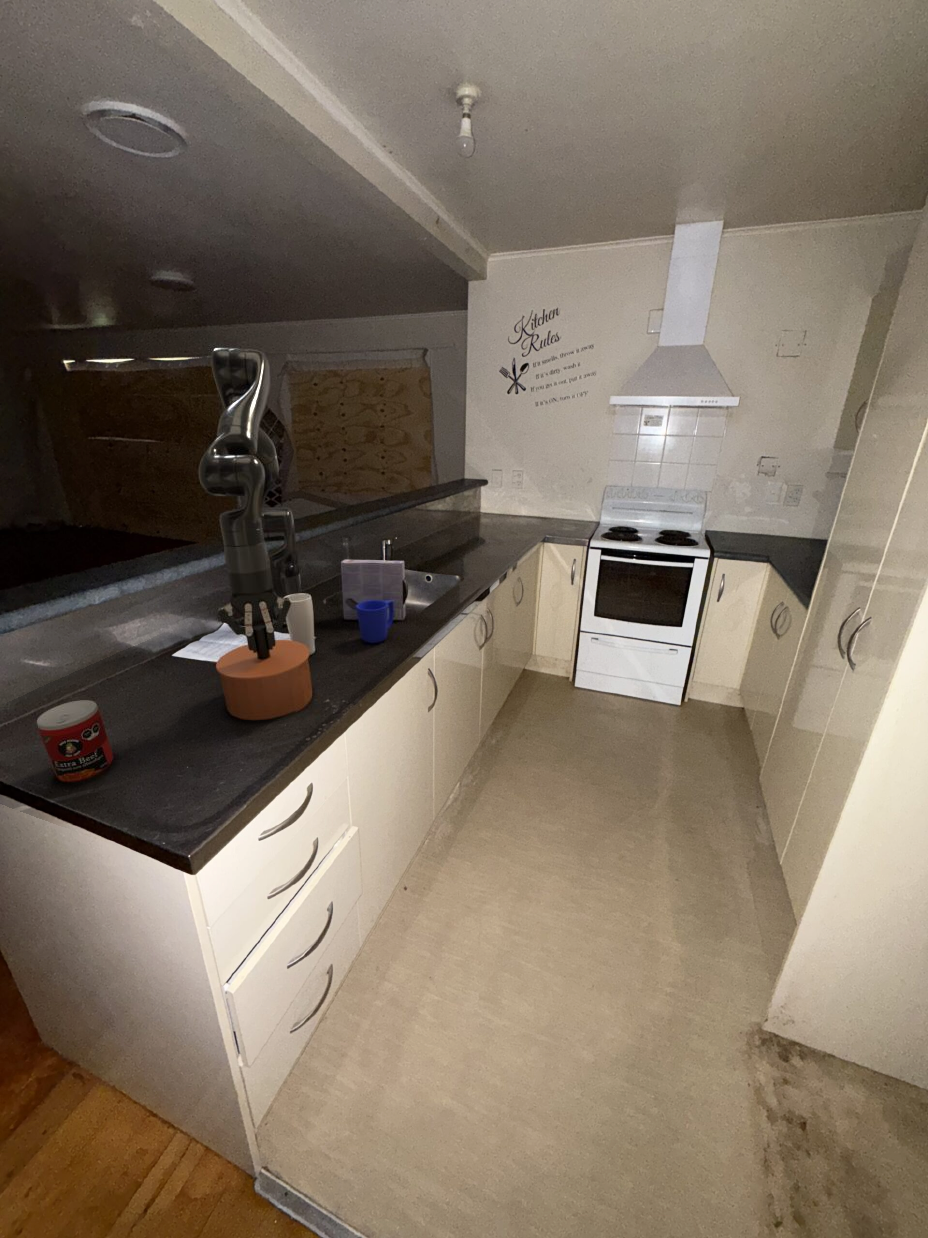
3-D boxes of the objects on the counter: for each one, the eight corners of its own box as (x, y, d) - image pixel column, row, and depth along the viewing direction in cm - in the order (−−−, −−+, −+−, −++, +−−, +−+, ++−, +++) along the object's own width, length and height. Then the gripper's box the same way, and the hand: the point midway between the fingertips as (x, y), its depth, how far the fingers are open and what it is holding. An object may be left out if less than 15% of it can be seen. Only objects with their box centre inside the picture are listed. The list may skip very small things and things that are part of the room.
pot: (226, 691, 105) (218, 651, 102) (305, 675, 112) (300, 637, 108) (229, 730, 91) (219, 686, 88) (318, 709, 98) (313, 667, 94)
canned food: (52, 791, 76) (29, 731, 72) (63, 762, 82) (43, 706, 78) (111, 776, 79) (92, 718, 75) (117, 749, 86) (100, 695, 82)
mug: (405, 633, 135) (403, 599, 132) (375, 648, 126) (372, 612, 122) (382, 627, 139) (380, 594, 136) (352, 641, 130) (349, 606, 126)
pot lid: (216, 653, 102) (209, 620, 99) (302, 638, 109) (298, 607, 107) (217, 691, 87) (209, 652, 85) (317, 670, 95) (312, 635, 92)
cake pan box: (409, 615, 149) (407, 558, 142) (407, 621, 144) (404, 563, 138) (347, 614, 149) (342, 558, 143) (343, 620, 144) (337, 562, 138)
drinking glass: (322, 648, 126) (315, 593, 121) (312, 659, 120) (304, 602, 114) (297, 647, 127) (289, 592, 121) (286, 658, 120) (277, 601, 115)
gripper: (284, 557, 97) (295, 637, 103) (207, 566, 91) (224, 649, 98) (289, 566, 91) (301, 650, 97) (207, 575, 85) (225, 664, 91)
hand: (262, 649), depth 97 cm, fingers closed on pot lid, 2 cm apart
